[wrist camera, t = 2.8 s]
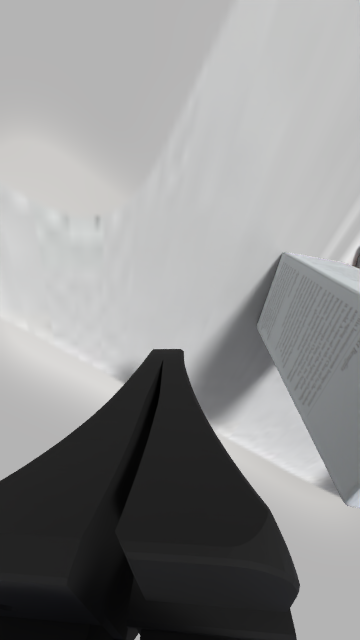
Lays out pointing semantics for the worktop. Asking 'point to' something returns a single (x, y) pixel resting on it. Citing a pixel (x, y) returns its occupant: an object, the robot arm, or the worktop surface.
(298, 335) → the skincare box
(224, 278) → the worktop surface
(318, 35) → the worktop surface
